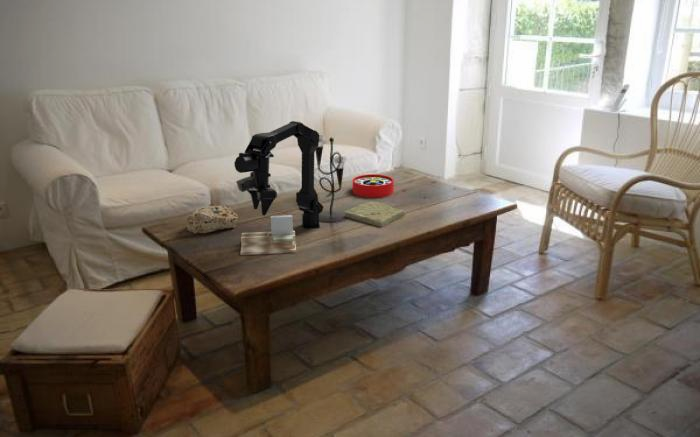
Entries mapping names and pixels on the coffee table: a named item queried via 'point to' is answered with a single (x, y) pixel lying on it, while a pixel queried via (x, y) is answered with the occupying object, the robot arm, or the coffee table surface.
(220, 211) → the rock
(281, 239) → the offcut stack
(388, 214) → the decorative tile
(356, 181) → the toy clock
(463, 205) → the coffee table surface
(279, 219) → the sheet
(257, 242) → the rack
